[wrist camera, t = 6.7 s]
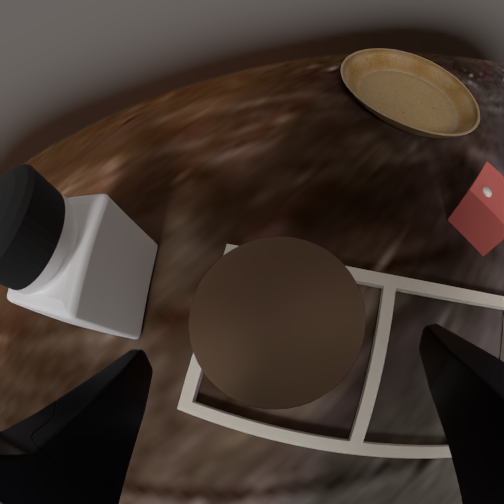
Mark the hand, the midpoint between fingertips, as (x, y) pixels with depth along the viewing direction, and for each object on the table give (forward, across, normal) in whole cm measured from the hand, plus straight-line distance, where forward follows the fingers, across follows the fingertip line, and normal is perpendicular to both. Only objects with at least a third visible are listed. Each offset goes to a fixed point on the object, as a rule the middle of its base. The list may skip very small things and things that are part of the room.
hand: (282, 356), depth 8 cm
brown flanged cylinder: (+7, 0, +6) cm, 9 cm away
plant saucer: (+22, -15, -9) cm, 28 cm away
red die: (+12, -15, +1) cm, 19 cm away
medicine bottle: (+10, +13, +2) cm, 17 cm away
